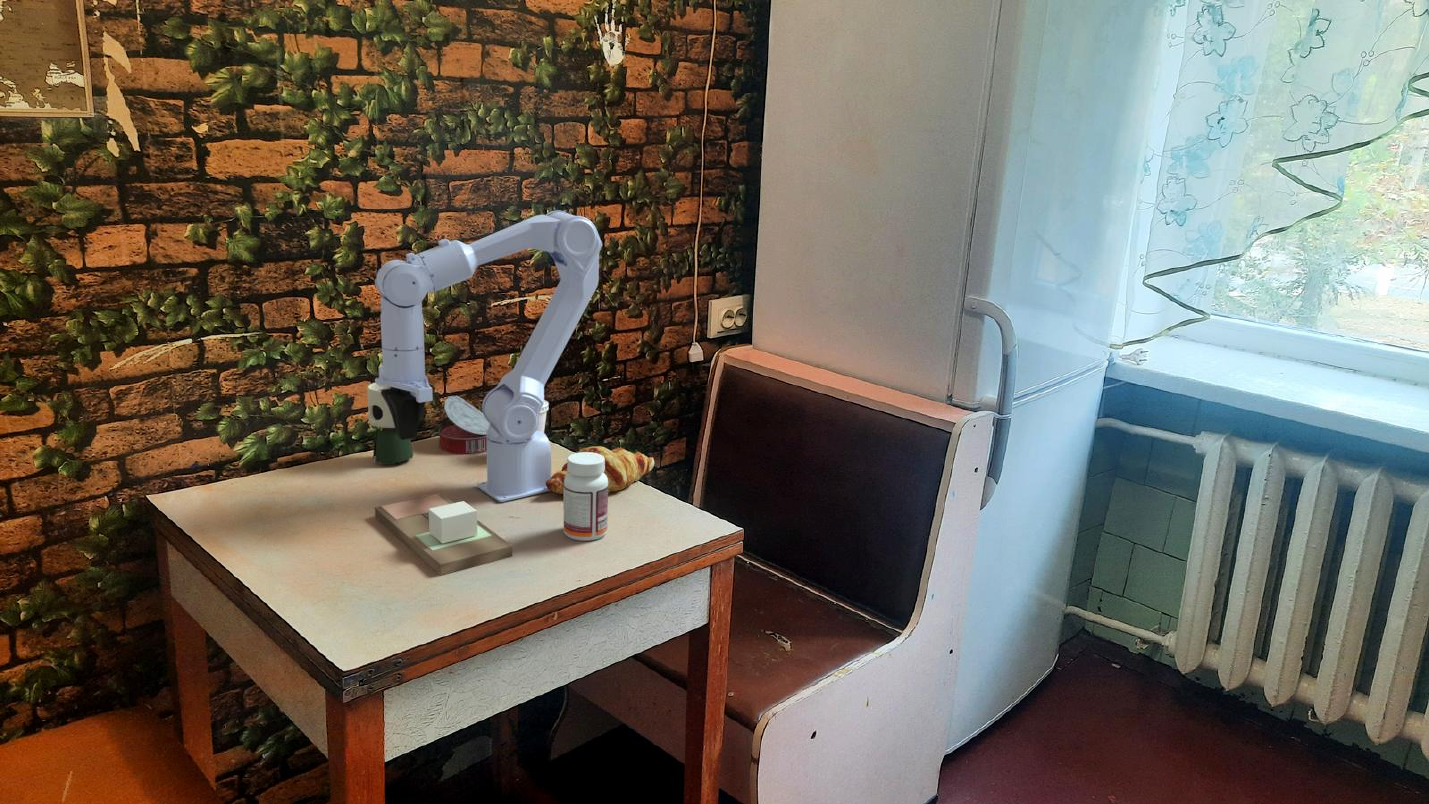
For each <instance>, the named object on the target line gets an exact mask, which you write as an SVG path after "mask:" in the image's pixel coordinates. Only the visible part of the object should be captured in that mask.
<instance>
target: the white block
mask: <svg viewBox="0 0 1429 804" xmlns="http://www.w3.org/2000/svg"><path fill="white" fill-rule="evenodd" d="M477 520H478V511H477V509H475V508H474V507H472V506H471V505H470V504H468V503H467V502H465V501H464V500H462V501H458V502H454V503H453V504H448V505H444V506H439V507H435V508H430V509H429V533H430V534H431V535H432V536H434V537H435V538H436V539H437V540H439V541H440V542H441V543H442V544H443V543H447V542H451V541H455V540H459V539H463V538H467V537H471V536H475V535H477Z"/></svg>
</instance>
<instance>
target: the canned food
mask: <svg viewBox="0 0 1429 804" xmlns="http://www.w3.org/2000/svg"><path fill="white" fill-rule="evenodd" d="M443 407H444V412H445V414H446V416H447V418H448V419H449V420H450V421H451V422H452V423H449V424H446V425H444V426H442V427H440V428H439V430H438V432H439V434H438V435H439V448H440V449H441V450H442V452H446V453H450V454H452V455H453V454H454V455H479V454H484V453H487V439H486V438H487V437H486V433H487V430H488V428H489V425H490V422H489V421H488V420H487V419H486V418H485V417H484V414H483V411H482V410H478V409H477V408H476V407H475V406H474V405H472V404H471V403H469V402H467V401H466V400H465V399H464V398H462V397H460V396H458V395H450V396H449V397H447V398H446V399H445V401H444V406H443Z"/></svg>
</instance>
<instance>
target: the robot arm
mask: <svg viewBox="0 0 1429 804" xmlns="http://www.w3.org/2000/svg"><path fill="white" fill-rule="evenodd" d="M437 244H438V245H437V246H435V247H433V248H432V247H431V248H429V249H427V250H424V251H422V252H419V253H416V254H415V253H414V252H409V253H406V254H405V257H406V261H405V260H400V259H393V260H389V261H387V262H385V263H384V264H383V265H382V266H381V267H380V268H379V269H378V271H377V274H376V278H375V279H374V285H375V287H376V289H377V291H378V292H379V293H380V295H381V296H380V309H381V313H380V330H381V331H380V334H381V354H382V355H381V356H382V365H380V366H378V377H375V379H374V383H376V384H377V385H379V386H385V385H386V386H390V387H391V389H387V390H382V391H381V395H382V396H383V398H384V400H385V401H386V403H387V405H388V407H389V410H390V412H391V415H392V418H393V422H394V425H395V429H396V432H397V435H398V438H400V439H401V440H405V439H415V438H416V435H417V431H418V428H419V423H420V420H421V419H420V418H421V415H422V413H423V409H424V407H425V406H426V404H427V402H432V401H434V400H433V387H432V386H430V384H429V381H428V375H426V366H425V365H426V361H425V359H426V358H425V334H424V333H425V332H424V331H425V328H424V327H425V326H424V325H425V323H424V314H423V300H424V299H425V298H426V295H427V294H433V293H435V292H438V291H441V290H444V289H446V288H448V287H451V286H454V285H457V284H459V283H461V282H464V281H467V280H469V279H471V278H473V275H474V273H475V272H476V270H477V269H478V266H481V265H484V264H487V263H490V262H492V261H495V260H498V259H502V258H504V257H505V258H506V257H507V256H510V255H514V254H516V253H520V252H522V251H525V250H528V249H531V250H537V251H540V252H547V253H548V254H549V255H550V256H551V258H552V259H553V261H554V264H555V267H556V269H557V271H558V275H559V278H560V281H559V282H558V285H557V286H556V288H555V289H554V292H553V294H552V296H551V298H550V300H549V302H548V303H547V304H546V307H545V309H544V311H543V312H542V315H541V317H540V318H539V321H538V322H537V323H536V326H535V328H534V330H533V332H532V333H531V335H530V337H529V339H528V341H527V343H526V344H525V346H524V348H523V350H522V352H521V354H520V355H519V357H518V359H517V362H516V364H515V365H514V367H513V369H512V370H510V371H509V372H508V373H506V374H505V375H503V376H502V377H501V379H500V381H499V383H498V384H497V386H495V387H494V388H493V389H491V390H490V391H488V393H487V394H486V395H485V397H484V399H483V401H482V405H481V408H482V409H481V412H482V413H483V414H484V417H485V418H486V419H487V420H488V421H489V422H490V425H489V428H488V430H487V433H486V437H487V438H486V439H487V452H486V479H487V481H483V482H478V483H477V484H476V487H477V488H479V489H480V490H481V491H482V492H484V493H485V494H487V495H488V496H490V497H491V498H493V499H494V500H495V501H497V502H499V503H504V502H507V501H512V500H517V499H521V498H526V497H529V496H533V495H534V496H535V495H538V494H542V493H547V492H551V491H550V490H548V488H547V486H546V481H547V480H549V479H550V478H551V477H552V446H551V442H550V440H549V438H548V436H547V435H546V433H545V432H544V433H543V432H542V431H536V430H537V427H538V424H539V413H540V410H541V408H542V406H543V404H544V400H545V385H546V383H547V381H548V379H549V378H550V376H551V374H552V372H553V371H554V369H555V366H556V365H557V363H558V361H559V359H560V356H561V355H562V353H563V351H564V349H565V348H566V346H567V345H568V342H569V340H570V339H571V337H572V334H573V333H574V331H575V329H576V328H577V325H578V323H579V321H580V319H581V317H582V316H583V314H584V313H585V310H586V308H587V306H588V304H589V303H590V301H591V299H592V297H593V295H594V293H595V292H596V289H597V288H598V285H599V279H600V278H599V275H600V273H599V270H600V269H599V266H600V264H599V263H600V251H601V250H602V247H603V242H602V240H601V238H600V234H599V233H598V230H597V228H596V226H595V224H594V223H593V222H592V221H591V220H590V219H589V218H587V217H584V216H583V215H582V216H581V215H573V214H571V213H568V212H566V211H563V210H560V209H559V210H552V211H549V212H548V213H546V214H539V215H534V216H532V217H530V218H526V219H524V220H522V221H520V222H518V223H515V224H512V225H510V226H508V227H506V228H504V229H501V230H499V231H496V232H494V233H492V234H489V235H487V236H485V237H483V238H480V239H478V240H475V241H473V242H471V243H469V244H468V243H467V244H466V243H464V242H462V241H459V240H457V239H454V240H451V241H450V240H449V239H447V238H443V239H441V240H438V241H437Z"/></svg>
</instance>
